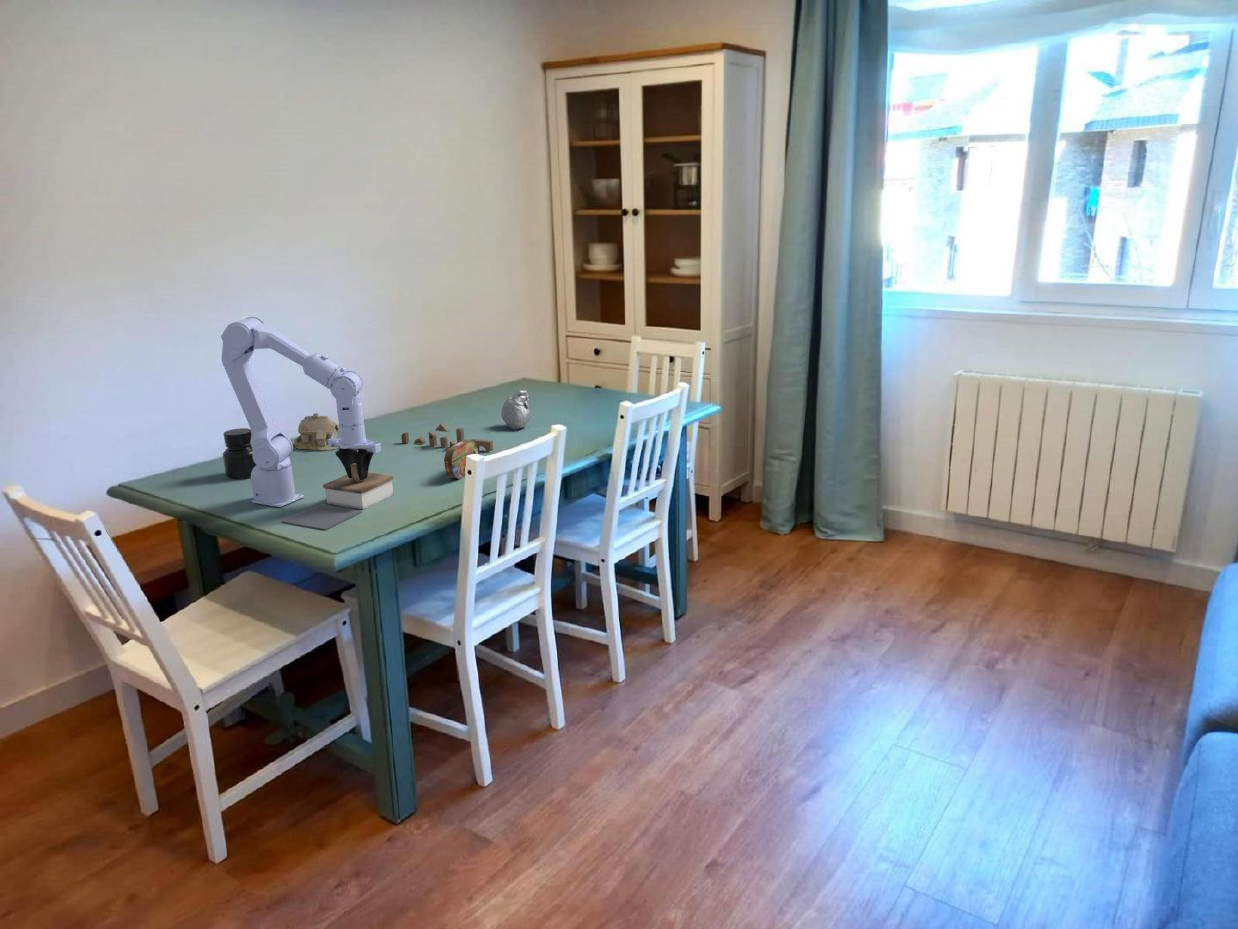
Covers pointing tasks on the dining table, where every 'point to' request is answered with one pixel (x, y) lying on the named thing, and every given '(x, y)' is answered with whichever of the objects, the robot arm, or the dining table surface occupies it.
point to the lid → (357, 482)
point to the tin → (459, 457)
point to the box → (359, 496)
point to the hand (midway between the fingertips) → (358, 478)
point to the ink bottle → (238, 453)
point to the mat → (322, 517)
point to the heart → (516, 410)
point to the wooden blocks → (443, 440)
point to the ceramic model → (316, 433)
